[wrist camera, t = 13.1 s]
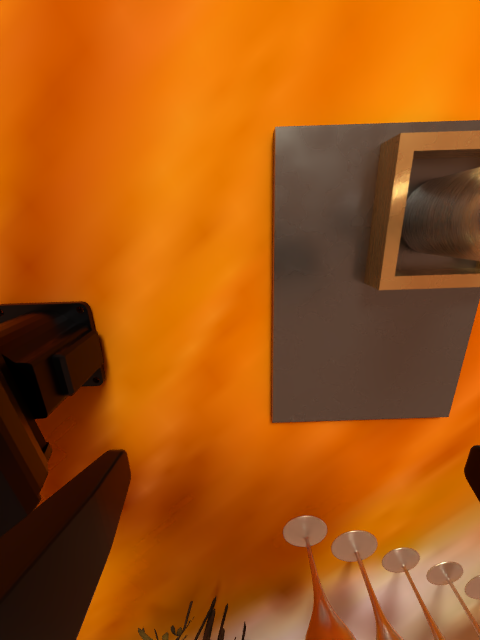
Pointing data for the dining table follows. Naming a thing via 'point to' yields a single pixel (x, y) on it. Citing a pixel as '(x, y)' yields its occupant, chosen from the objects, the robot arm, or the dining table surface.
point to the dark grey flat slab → (365, 274)
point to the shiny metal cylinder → (445, 216)
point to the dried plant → (208, 628)
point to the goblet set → (325, 625)
